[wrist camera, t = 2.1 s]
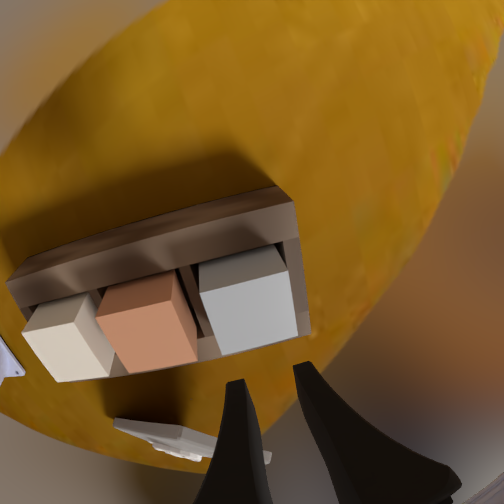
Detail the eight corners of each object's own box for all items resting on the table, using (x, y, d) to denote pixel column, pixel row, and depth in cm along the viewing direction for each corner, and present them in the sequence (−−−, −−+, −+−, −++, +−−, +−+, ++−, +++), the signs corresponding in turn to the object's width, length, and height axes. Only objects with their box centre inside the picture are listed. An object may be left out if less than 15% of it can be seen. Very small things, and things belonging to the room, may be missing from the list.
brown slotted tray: (80, 351, 21) (70, 382, 18) (27, 257, 17) (5, 282, 14) (296, 303, 22) (311, 333, 19) (277, 185, 18) (293, 201, 15)
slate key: (218, 321, 18) (222, 355, 16) (198, 263, 17) (199, 293, 14) (284, 304, 19) (298, 335, 16) (273, 244, 17) (288, 270, 14)
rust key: (135, 339, 18) (129, 373, 15) (108, 286, 16) (94, 317, 14) (196, 326, 18) (197, 361, 16) (174, 269, 16) (171, 300, 14)
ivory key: (68, 351, 18) (57, 382, 15) (39, 304, 16) (21, 332, 13) (117, 343, 18) (109, 376, 15) (88, 291, 16) (73, 322, 13)
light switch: (108, 433, 24) (172, 452, 15) (125, 385, 28) (195, 371, 19) (177, 458, 28) (269, 474, 19) (189, 413, 32) (280, 408, 23)
